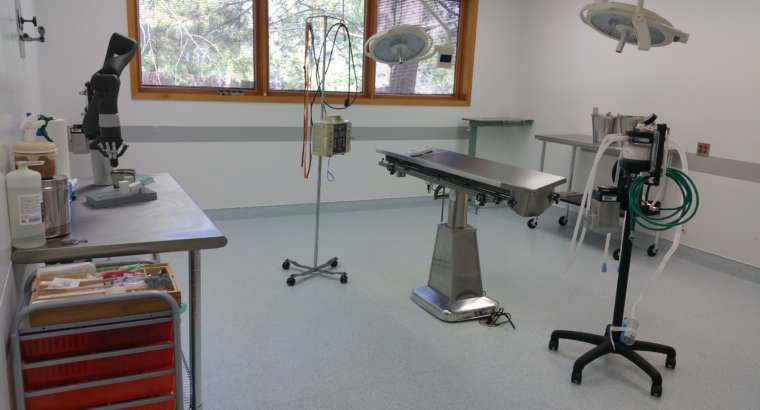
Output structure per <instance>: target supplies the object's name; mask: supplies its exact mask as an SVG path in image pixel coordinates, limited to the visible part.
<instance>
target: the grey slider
mask: <svg viewBox="0 0 760 410" xmlns="http://www.w3.org/2000/svg"><path fill="white" fill-rule="evenodd" d="M123 178H124V181H126V180H127V181H129V182H130V183H129V184H132V183H134V180H133V178H134V177H132V176H126V177H123Z"/></svg>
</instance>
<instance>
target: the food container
mask: <svg viewBox="0 0 760 410" xmlns="http://www.w3.org/2000/svg"><path fill="white" fill-rule="evenodd" d="M109 175H111V179H112V184H111V185H112V188H113V191H115V190H114V189H118V188H119V183H118V182H119V181H124V178H123V177H126V176H132V177H134V178H133V180H134V182H137V180H136V177H137V175H138V174H137V171H136V169H134V168H118V169H117V168H115V169H113V170H110V172H109Z"/></svg>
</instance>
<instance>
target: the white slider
mask: <svg viewBox="0 0 760 410" xmlns="http://www.w3.org/2000/svg"><path fill="white" fill-rule="evenodd" d="M118 183H119V188H120V195H124V194H130V188H129V183H130V182H129V181H127V180H126V181H119V182H118Z"/></svg>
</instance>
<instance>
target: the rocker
mask: <svg viewBox="0 0 760 410" xmlns="http://www.w3.org/2000/svg"><path fill="white" fill-rule="evenodd" d="M155 182H156V181H155V179H154V177H153V176H150V175H148V176H146V177H144V178H143V177H142V178H141V179H139V180H136V182H134V183H132V184H129V188H130V190H131V191H134V190H136V189H139V188H141V187H146V186H148V185H150V184H151V185H152V184H153V183H155Z"/></svg>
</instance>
